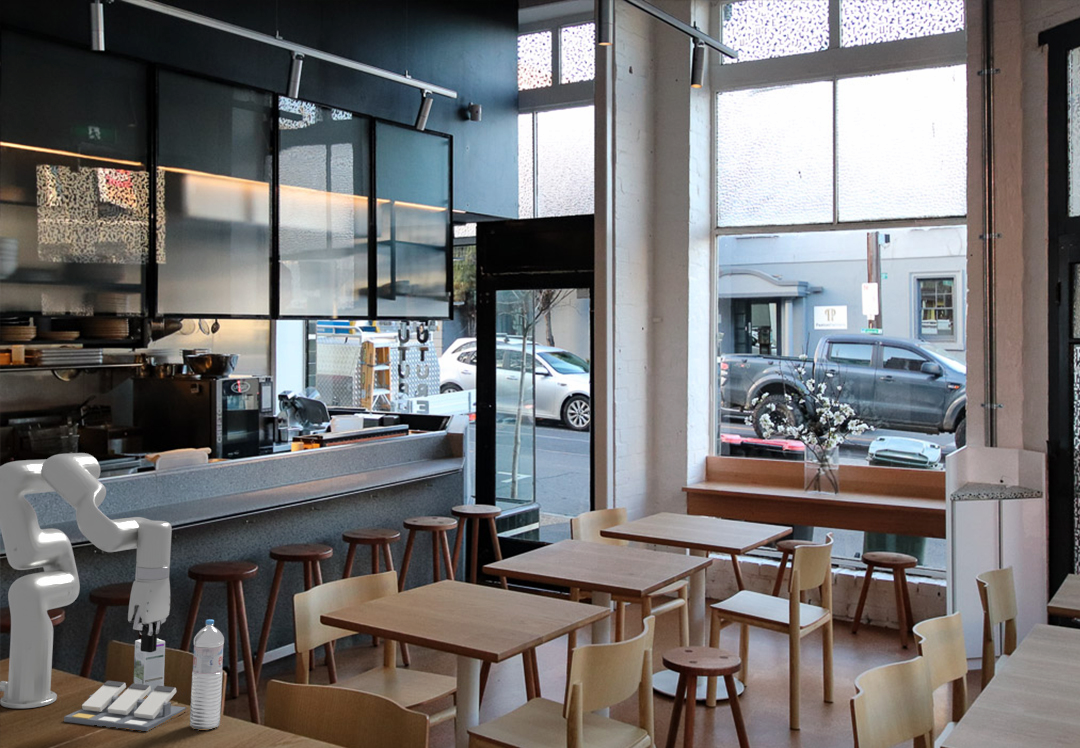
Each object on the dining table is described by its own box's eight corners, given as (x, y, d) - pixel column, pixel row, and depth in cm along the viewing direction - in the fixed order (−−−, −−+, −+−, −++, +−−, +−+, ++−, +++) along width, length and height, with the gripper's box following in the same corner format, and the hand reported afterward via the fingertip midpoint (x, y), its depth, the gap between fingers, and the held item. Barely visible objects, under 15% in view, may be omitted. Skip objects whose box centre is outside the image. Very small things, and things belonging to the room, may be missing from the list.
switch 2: (134, 716, 244) (133, 711, 243) (158, 689, 253) (156, 684, 252) (153, 719, 242) (152, 714, 242) (176, 691, 251) (175, 686, 251)
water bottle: (210, 732, 239) (215, 624, 240) (183, 729, 240) (189, 621, 241) (225, 723, 246) (230, 618, 246) (199, 721, 247) (204, 616, 248)
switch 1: (82, 709, 247) (81, 704, 246) (108, 684, 256) (107, 679, 255) (101, 711, 245) (100, 706, 245) (126, 687, 255) (125, 682, 254)
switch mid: (108, 712, 245) (106, 707, 245) (132, 687, 254) (132, 682, 254) (127, 715, 244) (126, 709, 243) (151, 690, 253) (150, 684, 253)
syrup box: (164, 697, 265) (166, 640, 265) (141, 701, 260) (144, 643, 261) (153, 692, 269) (156, 636, 269) (131, 696, 264) (134, 639, 265)
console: (64, 721, 242) (65, 704, 243) (107, 702, 258) (108, 686, 258) (146, 732, 237) (147, 714, 238) (186, 712, 253) (186, 696, 253)
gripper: (158, 567, 253) (154, 642, 253) (118, 576, 239) (113, 656, 238) (185, 570, 251) (181, 646, 251) (145, 579, 237) (141, 660, 236)
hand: (148, 650), depth 244 cm, fingers closed
